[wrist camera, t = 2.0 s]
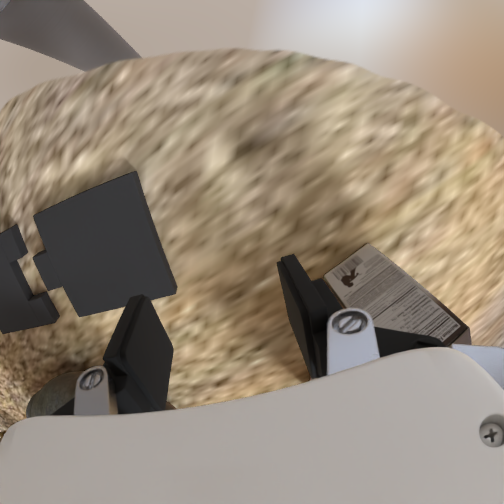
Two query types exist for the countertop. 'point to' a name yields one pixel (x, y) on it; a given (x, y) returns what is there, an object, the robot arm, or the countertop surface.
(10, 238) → the base pad
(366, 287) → the coffee box
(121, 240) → the pad
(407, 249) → the countertop surface
